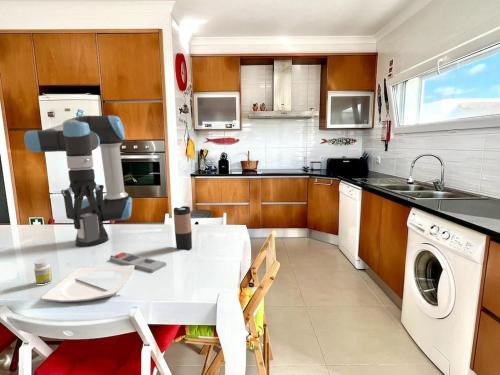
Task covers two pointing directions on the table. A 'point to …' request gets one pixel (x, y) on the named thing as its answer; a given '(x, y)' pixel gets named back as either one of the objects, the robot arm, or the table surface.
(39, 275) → the supplement bottle
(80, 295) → the plate
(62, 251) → the table surface
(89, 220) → the block
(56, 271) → the table surface
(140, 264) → the power strip
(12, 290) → the table surface
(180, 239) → the travel mug
